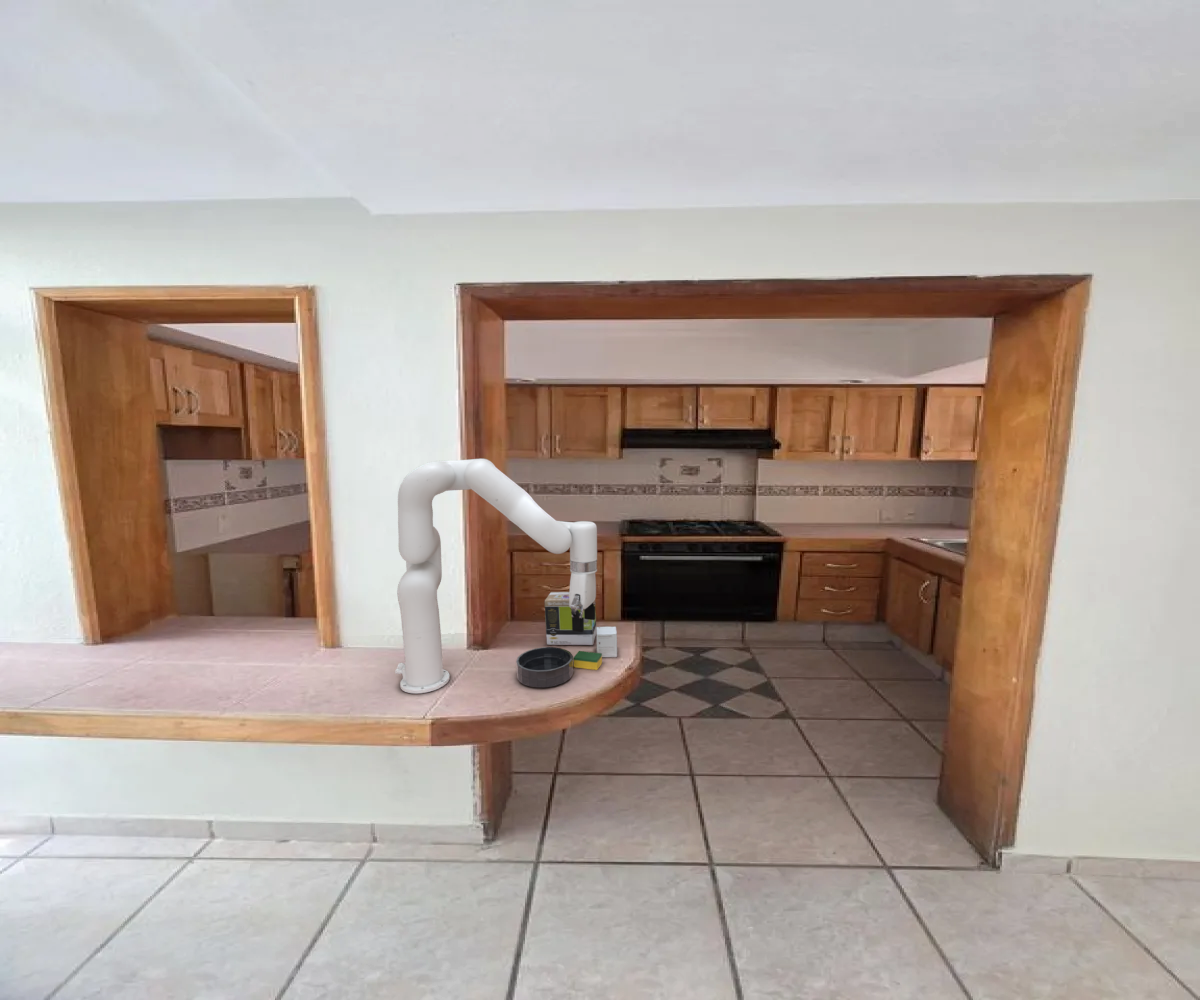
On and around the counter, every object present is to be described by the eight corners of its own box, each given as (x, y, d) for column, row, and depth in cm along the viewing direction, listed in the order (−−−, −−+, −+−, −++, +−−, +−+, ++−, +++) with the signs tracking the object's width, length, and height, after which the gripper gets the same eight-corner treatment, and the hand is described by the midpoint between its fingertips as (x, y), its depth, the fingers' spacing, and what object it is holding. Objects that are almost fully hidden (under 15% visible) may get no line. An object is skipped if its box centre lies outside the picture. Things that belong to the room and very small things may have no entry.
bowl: (507, 685, 131) (506, 667, 131) (532, 660, 146) (531, 644, 145) (560, 692, 127) (559, 674, 126) (580, 666, 141) (580, 650, 140)
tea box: (596, 634, 165) (595, 590, 163) (593, 646, 155) (591, 600, 153) (552, 633, 166) (550, 590, 165) (545, 645, 156) (543, 600, 155)
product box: (596, 658, 146) (596, 634, 146) (596, 649, 153) (596, 626, 152) (617, 657, 146) (616, 633, 146) (616, 648, 153) (616, 625, 152)
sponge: (573, 667, 141) (573, 657, 140) (579, 660, 145) (579, 650, 145) (597, 670, 139) (596, 660, 138) (602, 663, 143) (601, 653, 143)
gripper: (581, 558, 148) (582, 613, 150) (559, 572, 131) (560, 634, 133) (605, 559, 145) (605, 616, 147) (585, 574, 129) (586, 638, 131)
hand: (584, 625), depth 140 cm, fingers open, 9 cm apart
